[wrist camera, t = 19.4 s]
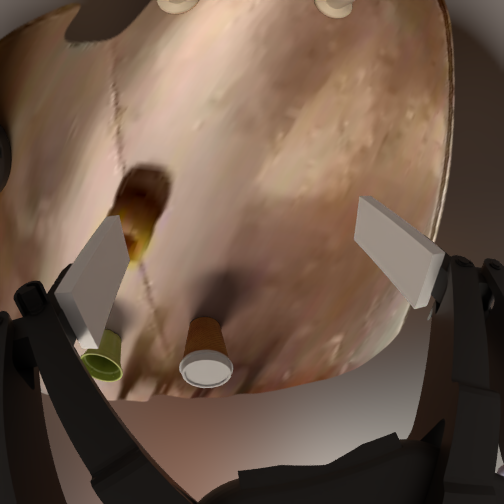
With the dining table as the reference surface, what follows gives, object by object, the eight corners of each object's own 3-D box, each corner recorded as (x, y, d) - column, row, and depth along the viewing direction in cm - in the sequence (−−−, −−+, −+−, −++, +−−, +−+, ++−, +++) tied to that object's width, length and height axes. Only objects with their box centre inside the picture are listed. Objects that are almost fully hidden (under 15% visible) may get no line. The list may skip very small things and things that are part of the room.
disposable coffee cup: (190, 304, 53) (189, 352, 42) (235, 318, 56) (243, 365, 46) (175, 336, 56) (172, 382, 46) (217, 347, 60) (221, 392, 49)
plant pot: (134, 352, 58) (128, 382, 50) (98, 352, 56) (90, 381, 49) (121, 322, 53) (112, 353, 45) (83, 323, 52) (71, 353, 44)
